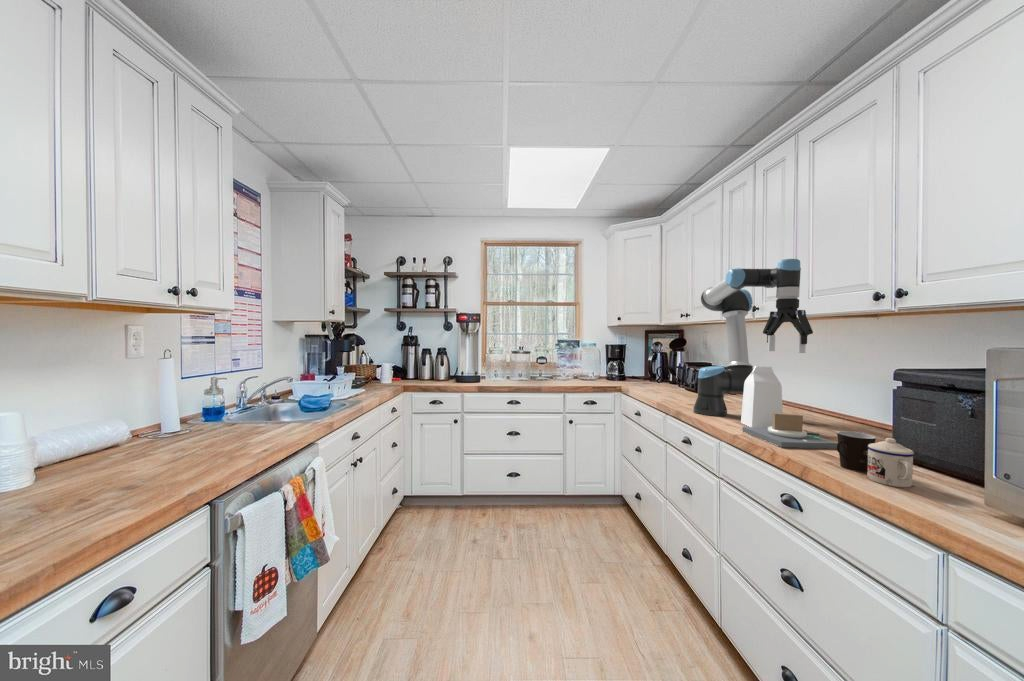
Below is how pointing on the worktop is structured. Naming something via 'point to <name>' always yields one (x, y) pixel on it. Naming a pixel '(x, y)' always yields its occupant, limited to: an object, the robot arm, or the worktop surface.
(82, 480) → the worktop surface
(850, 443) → the coffee mug
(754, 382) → the milk
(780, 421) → the dial
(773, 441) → the dial board
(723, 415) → the robot arm
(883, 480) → the teacup with lid
